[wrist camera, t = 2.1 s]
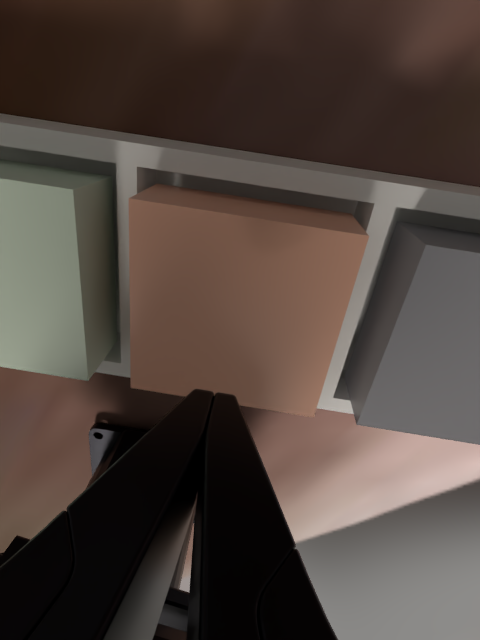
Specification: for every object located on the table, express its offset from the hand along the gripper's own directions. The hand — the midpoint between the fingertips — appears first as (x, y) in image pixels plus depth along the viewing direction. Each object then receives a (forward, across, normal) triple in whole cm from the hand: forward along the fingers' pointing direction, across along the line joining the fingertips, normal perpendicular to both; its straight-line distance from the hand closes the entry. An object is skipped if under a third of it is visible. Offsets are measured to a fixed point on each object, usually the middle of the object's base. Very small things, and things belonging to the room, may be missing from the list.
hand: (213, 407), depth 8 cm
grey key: (+6, -8, 0) cm, 10 cm away
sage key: (+6, +7, 0) cm, 9 cm away
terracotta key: (+6, 0, 0) cm, 6 cm away
